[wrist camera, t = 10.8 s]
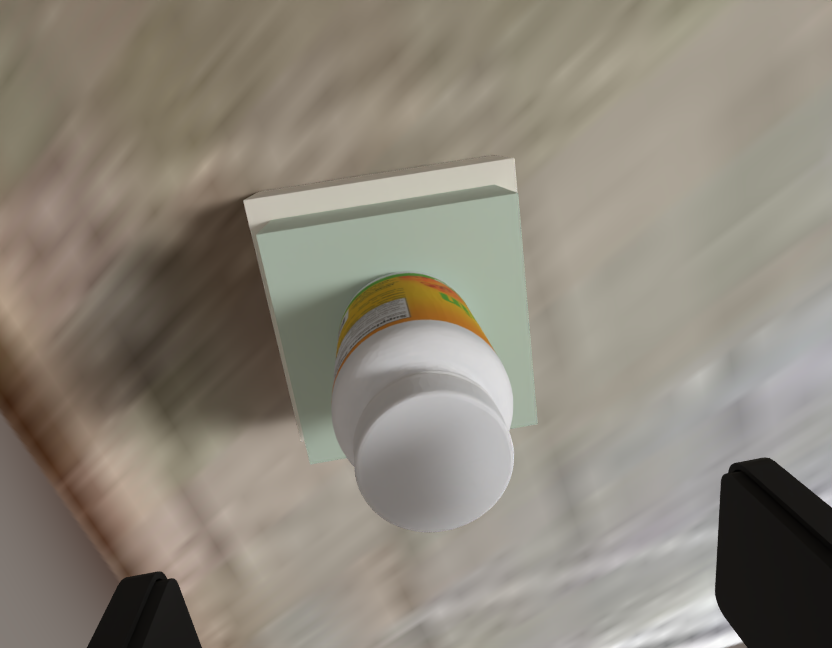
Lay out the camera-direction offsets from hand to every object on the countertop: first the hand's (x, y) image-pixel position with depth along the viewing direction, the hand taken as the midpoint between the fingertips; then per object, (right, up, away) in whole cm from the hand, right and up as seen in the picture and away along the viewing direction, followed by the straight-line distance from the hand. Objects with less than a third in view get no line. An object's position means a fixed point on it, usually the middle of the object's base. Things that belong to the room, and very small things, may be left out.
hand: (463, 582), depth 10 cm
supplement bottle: (-1, +4, +14) cm, 14 cm away
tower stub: (-2, +6, +21) cm, 22 cm away
